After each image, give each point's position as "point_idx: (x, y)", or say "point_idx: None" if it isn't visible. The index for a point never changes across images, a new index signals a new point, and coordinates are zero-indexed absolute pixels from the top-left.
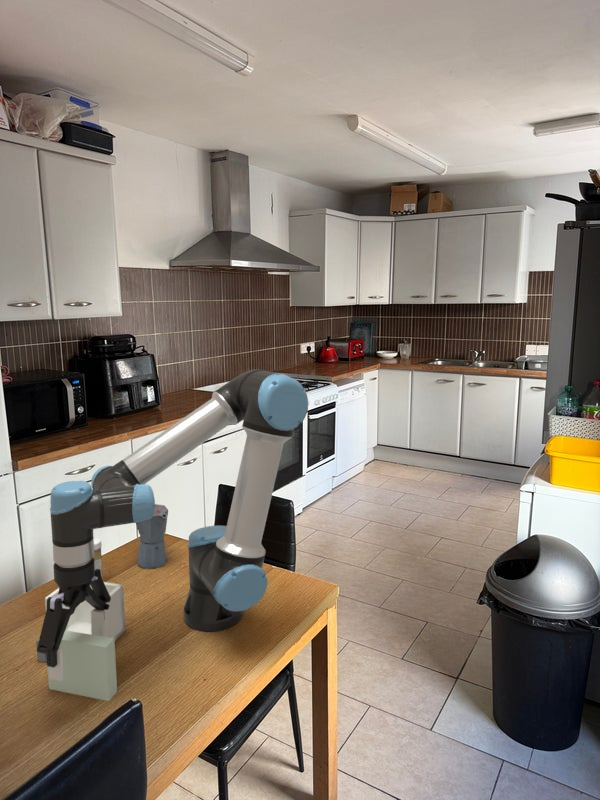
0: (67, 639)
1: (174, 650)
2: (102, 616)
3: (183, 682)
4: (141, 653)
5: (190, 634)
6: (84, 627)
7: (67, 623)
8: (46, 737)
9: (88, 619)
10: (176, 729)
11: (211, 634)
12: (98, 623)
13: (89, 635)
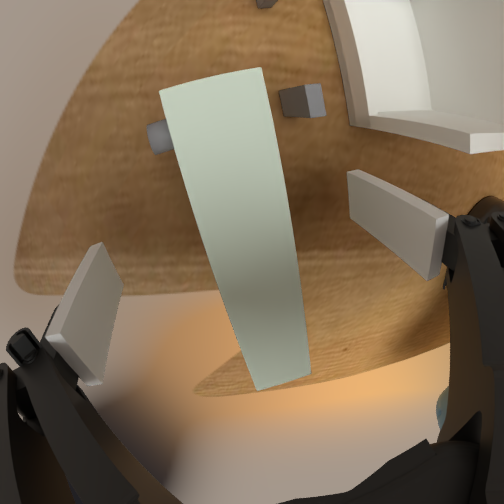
0: (212, 243)
1: (403, 261)
2: (416, 266)
3: (330, 334)
4: None
5: None
6: (402, 23)
7: (150, 475)
8: (81, 253)
9: (424, 24)
10: (236, 388)
11: (441, 279)
12: (391, 233)
13: (293, 301)
